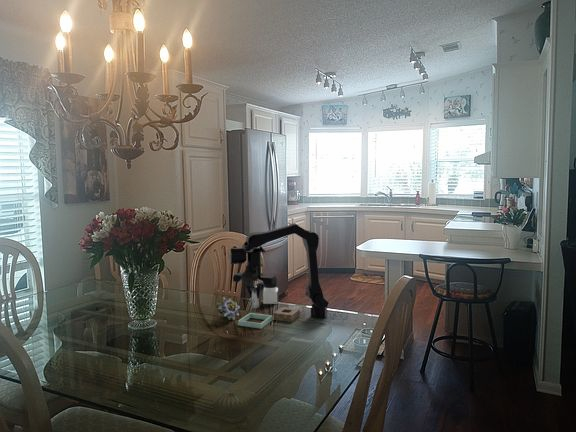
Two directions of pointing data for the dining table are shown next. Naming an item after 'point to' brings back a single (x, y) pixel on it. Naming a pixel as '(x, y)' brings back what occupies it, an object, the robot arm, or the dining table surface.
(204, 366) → the dining table surface
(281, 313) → the holder block
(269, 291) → the medicine bottle
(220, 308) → the passion flower
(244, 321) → the mint green square frame
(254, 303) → the metal pin
